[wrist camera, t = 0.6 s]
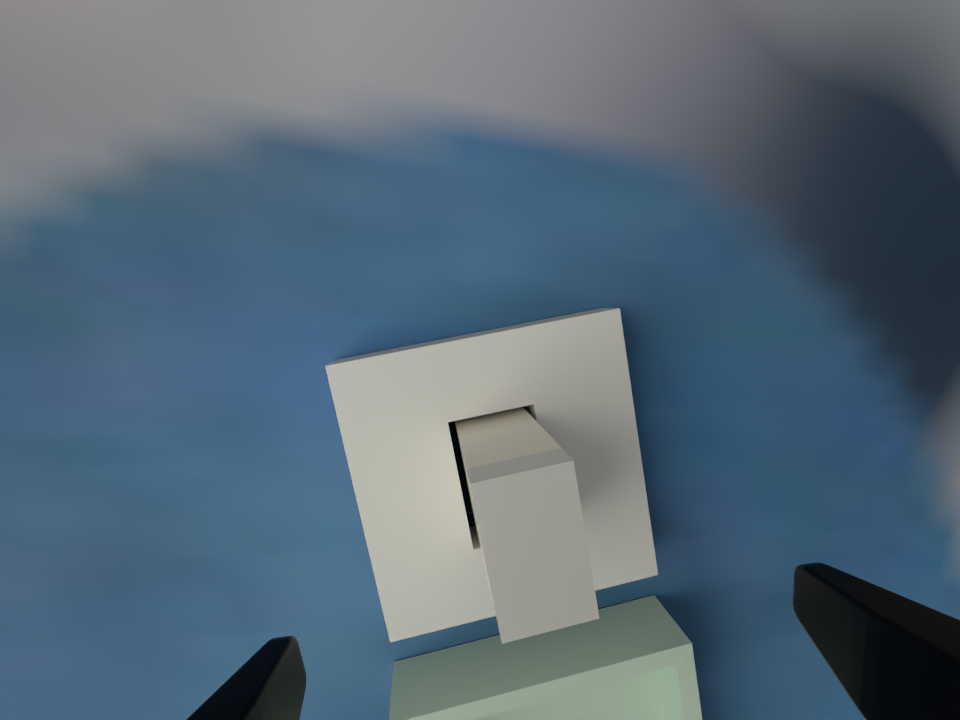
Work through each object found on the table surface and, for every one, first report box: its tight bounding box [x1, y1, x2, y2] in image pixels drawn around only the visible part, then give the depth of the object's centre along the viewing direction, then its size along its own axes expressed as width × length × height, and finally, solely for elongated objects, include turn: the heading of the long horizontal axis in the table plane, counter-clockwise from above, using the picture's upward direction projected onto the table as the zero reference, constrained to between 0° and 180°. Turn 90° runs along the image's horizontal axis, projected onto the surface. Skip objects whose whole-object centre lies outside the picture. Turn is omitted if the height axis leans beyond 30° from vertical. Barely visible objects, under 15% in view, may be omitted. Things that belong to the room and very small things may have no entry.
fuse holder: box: [325, 308, 658, 642], centre depth 20 cm, size 12×12×2 cm
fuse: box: [455, 407, 600, 644], centre depth 17 cm, size 5×3×8 cm, turn 11°
